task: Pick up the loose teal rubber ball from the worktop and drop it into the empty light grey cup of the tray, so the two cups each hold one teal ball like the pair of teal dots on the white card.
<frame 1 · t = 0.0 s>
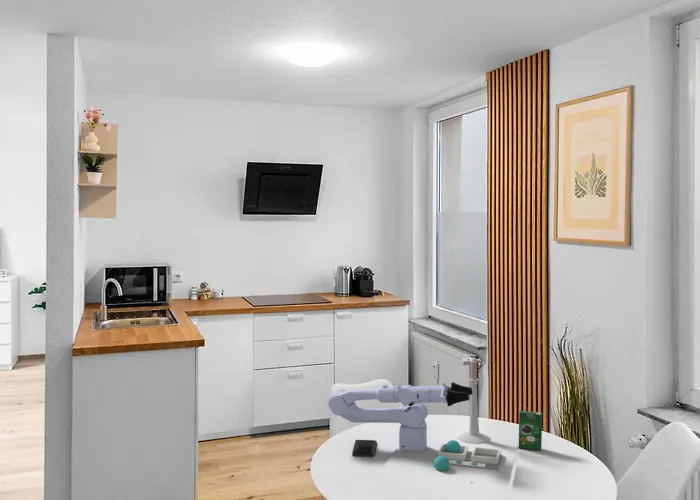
hand: (470, 393, 214), 22 cm above the table, tool horizontal, fingers open, 7 cm apart
candlestick: (474, 441, 230), on the table
loose teal ball: (441, 471, 202), on the table
phone: (364, 450, 223), on the table
seated teal ball: (453, 454, 214), point 1 cm above the table, touching sorting tray
sorting tray: (468, 461, 210), on the table
coffee box: (530, 449, 222), on the table
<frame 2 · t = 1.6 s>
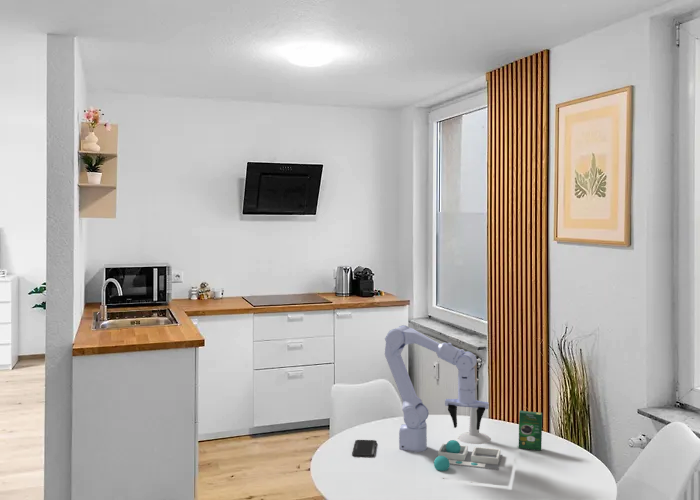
hand: (466, 428, 213), 10 cm above the table, tool pointing down, fingers open, 7 cm apart
nothing on the table moved.
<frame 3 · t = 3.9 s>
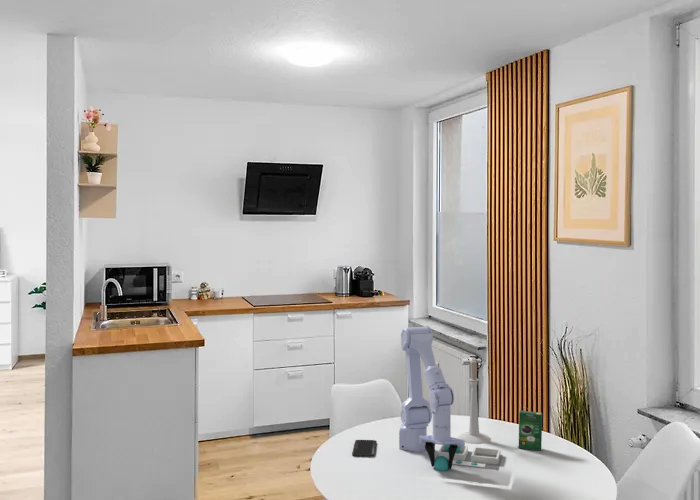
hand: (441, 466, 202), 2 cm above the table, tool pointing down, fingers closed on loose teal ball, 5 cm apart
loose teal ball: (441, 471, 202), on the table, touching gripper
everything else where it was.
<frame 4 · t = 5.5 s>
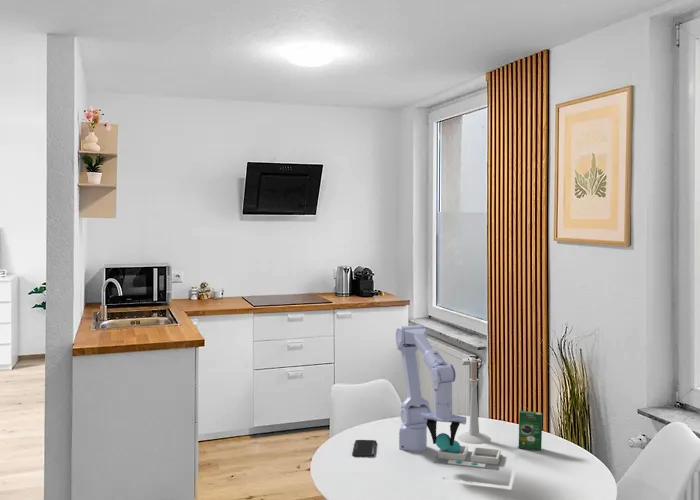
hand: (443, 443, 202), 9 cm above the table, tool pointing down, fingers closed on loose teal ball, 5 cm apart
loose teal ball: (443, 448, 202), point 7 cm above the table, touching gripper
everything else where it was.
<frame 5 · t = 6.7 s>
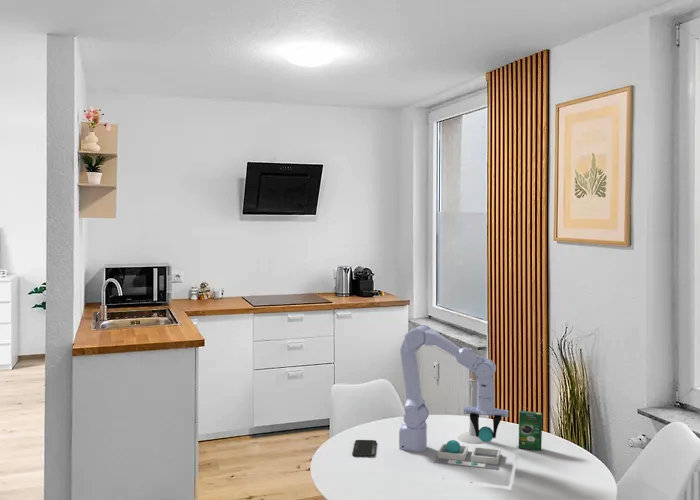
hand: (485, 436, 210), 8 cm above the table, tool pointing down, fingers closed on loose teal ball, 5 cm apart
loose teal ball: (485, 441, 210), point 7 cm above the table, touching gripper
everything else where it was.
when the fingers open (6 cm above the table, at t = 7.6 s): loose teal ball drops 3 cm, resting on sorting tray.
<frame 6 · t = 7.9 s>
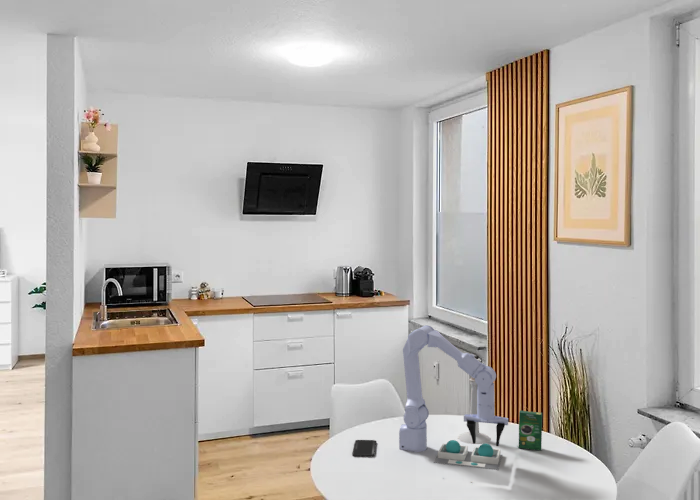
hand: (485, 444, 210), 6 cm above the table, tool pointing down, fingers open, 7 cm apart
loose teal ball: (485, 458, 210), point 1 cm above the table, touching sorting tray
everything else where it was.
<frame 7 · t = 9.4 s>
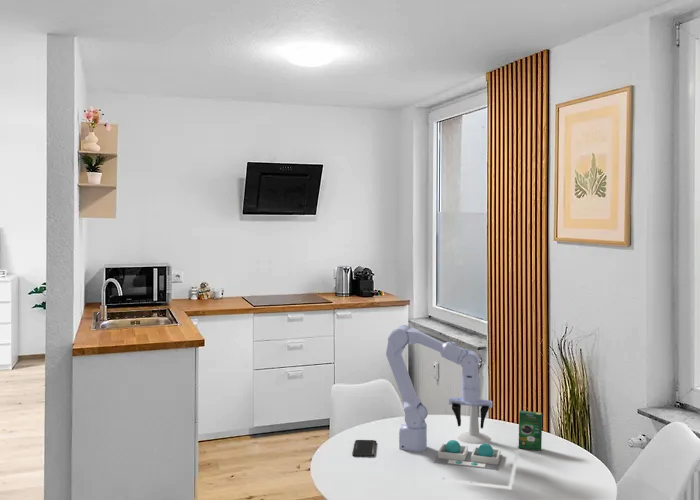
hand: (470, 426, 214), 10 cm above the table, tool pointing down, fingers open, 7 cm apart
nothing on the table moved.
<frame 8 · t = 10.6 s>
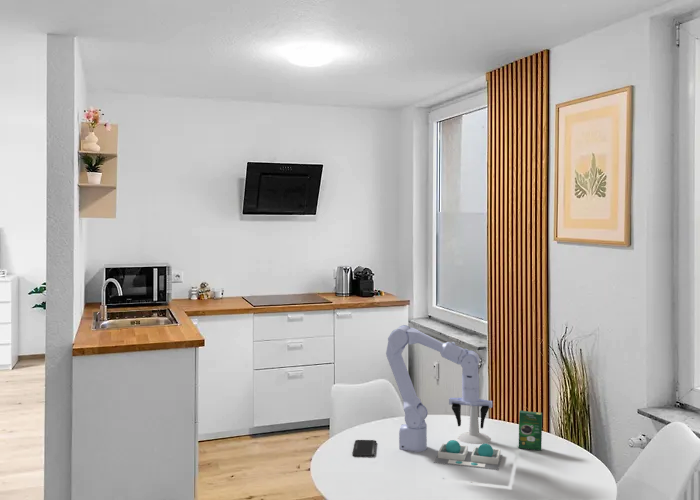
hand: (470, 426, 214), 10 cm above the table, tool pointing down, fingers open, 7 cm apart
nothing on the table moved.
at the end: loose teal ball 0.2 cm from the target spot on the sorting tray, point 1.0 cm above the sorting tray's base; the gripper is holding nothing; seated teal ball moved 0.0 cm from its start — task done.
